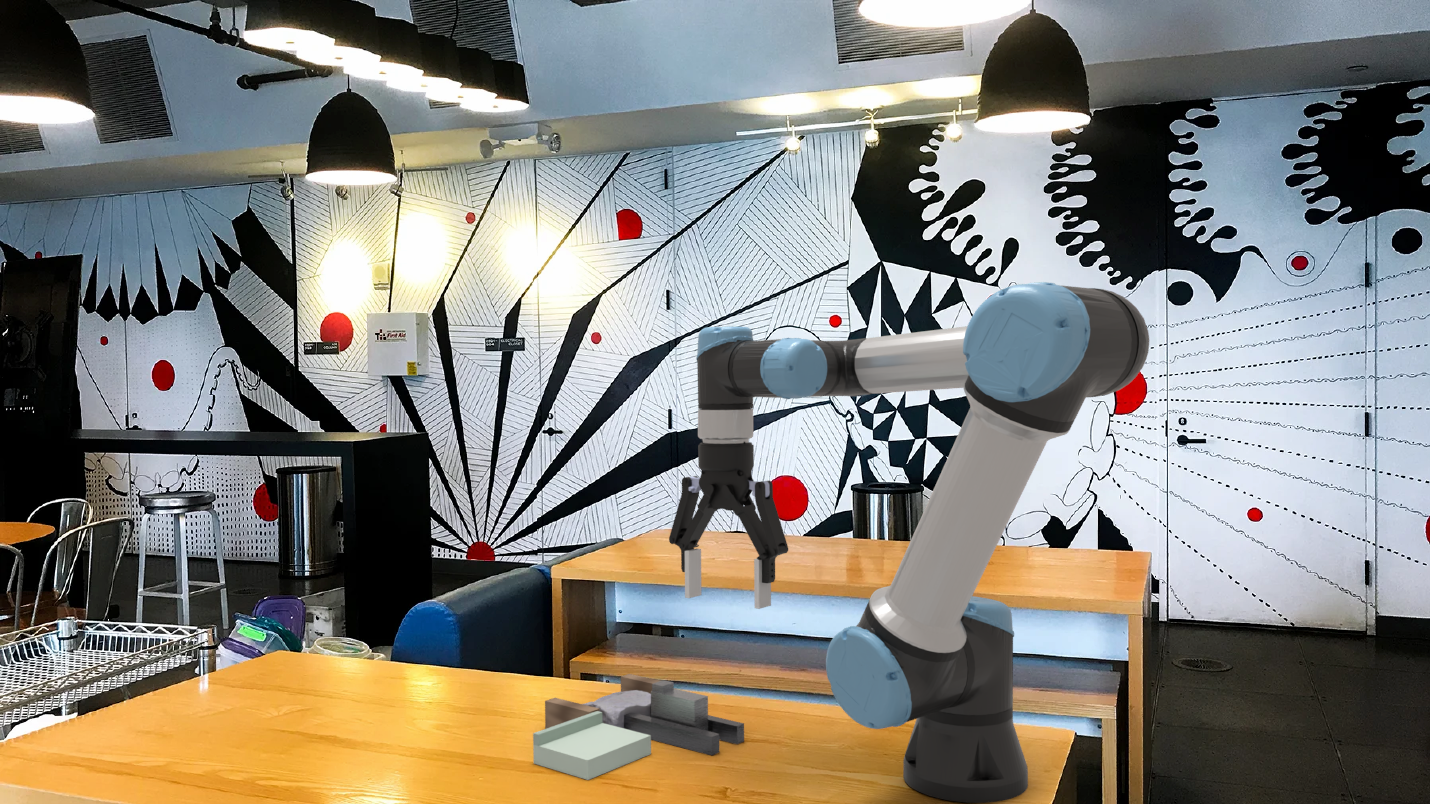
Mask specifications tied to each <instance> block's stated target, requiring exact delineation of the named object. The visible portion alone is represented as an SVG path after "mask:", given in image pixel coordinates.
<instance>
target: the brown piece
mask: <svg viewBox="0 0 1430 804" xmlns="http://www.w3.org/2000/svg"><path fill="white" fill-rule="evenodd" d="M659 681H661V680H660V679H655V678H650V677H645V676H642V675H635V674H633V673H628V674H625V675H622V676H620V692H624V691H631V690H632V691H633V690H638V691H643V692H648V693H650V694H651V691H652V684H653V683H656V682H659ZM583 704H584V703H578V702H574V701H571V700H567V699H563V698H558V697H552V698H550V699H547V700H545V701H544V708H545V709H544V714H545V715H544V716H545V717H544V721H545V722H544V725H545V726H544V728H545V729H547V728H550V727H553V726H555V725H558V724H561V723H564V722H567V721H570V720H573V719H576V718H578V717H581V716H584V715H587V714H590V713H593V712H596V711H599V712H600V709H599V708H595V707H591V706H587V705H583Z"/></svg>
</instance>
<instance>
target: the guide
mask: <svg viewBox="0 0 1430 804" xmlns="http://www.w3.org/2000/svg"><path fill="white" fill-rule="evenodd" d="M624 729H628V730H632V731H636V732H639V733H643V734H647V735H651V741H654V742H655V741H656V742H658V743H659V742H660V743H663V744H667V745H671V746H674V747H678V748H682V749H685V750H689V751H694V752H697V753H701V754H705V755H707V756H708V755H709V756H714V755H717V754H718V753H720V741H722V742H726V743H730V744H734V745H739V744H742V743H743V742H745V723H743V722H739V721H736V720H731V719H726V718H723V717H719V716H714V715H710V714H708V731H705V730H701V729H697V728H693V727H689V726H685V725H681V724H677V723H673V722H669V721H664V720H660V719H656V718H652V717H651V706H650V717H648V716H644V715H640V714H636V713H632V712H631V713H629V714H626V715H624Z"/></svg>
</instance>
